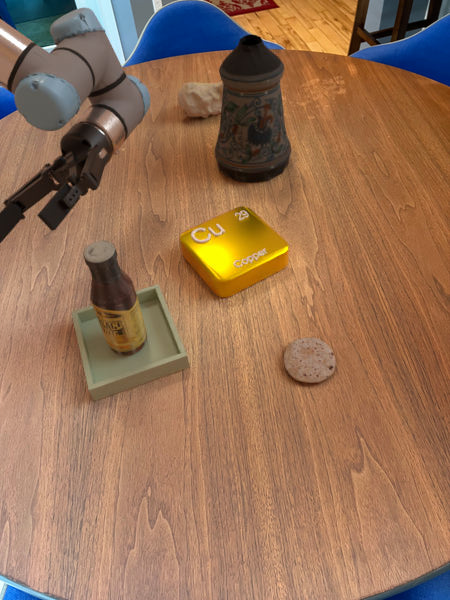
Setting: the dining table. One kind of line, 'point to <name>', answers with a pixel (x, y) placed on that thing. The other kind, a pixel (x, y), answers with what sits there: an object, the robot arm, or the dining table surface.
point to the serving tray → (139, 366)
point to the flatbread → (309, 360)
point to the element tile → (234, 251)
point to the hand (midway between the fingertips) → (16, 231)
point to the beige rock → (201, 99)
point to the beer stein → (252, 114)
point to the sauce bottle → (114, 300)
